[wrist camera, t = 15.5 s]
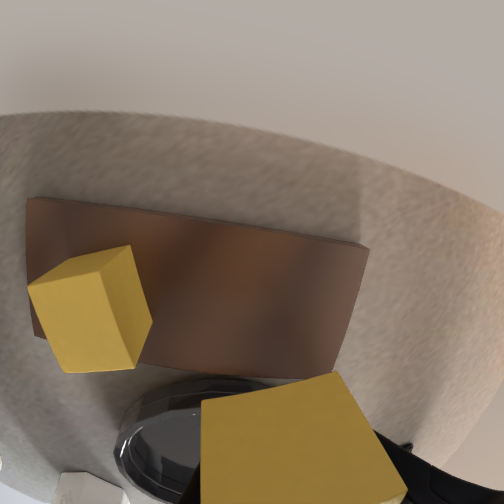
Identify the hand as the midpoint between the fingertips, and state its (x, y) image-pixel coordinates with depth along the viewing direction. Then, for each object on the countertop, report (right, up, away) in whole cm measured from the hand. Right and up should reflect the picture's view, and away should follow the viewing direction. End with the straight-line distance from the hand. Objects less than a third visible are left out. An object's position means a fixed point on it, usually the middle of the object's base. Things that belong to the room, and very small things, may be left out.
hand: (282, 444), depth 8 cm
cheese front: (0, 0, 0) cm, 0 cm away
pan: (-4, -10, +12) cm, 16 cm away
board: (-5, +4, +9) cm, 11 cm away
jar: (-19, -21, +14) cm, 31 cm away
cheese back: (-9, +4, +7) cm, 12 cm away
